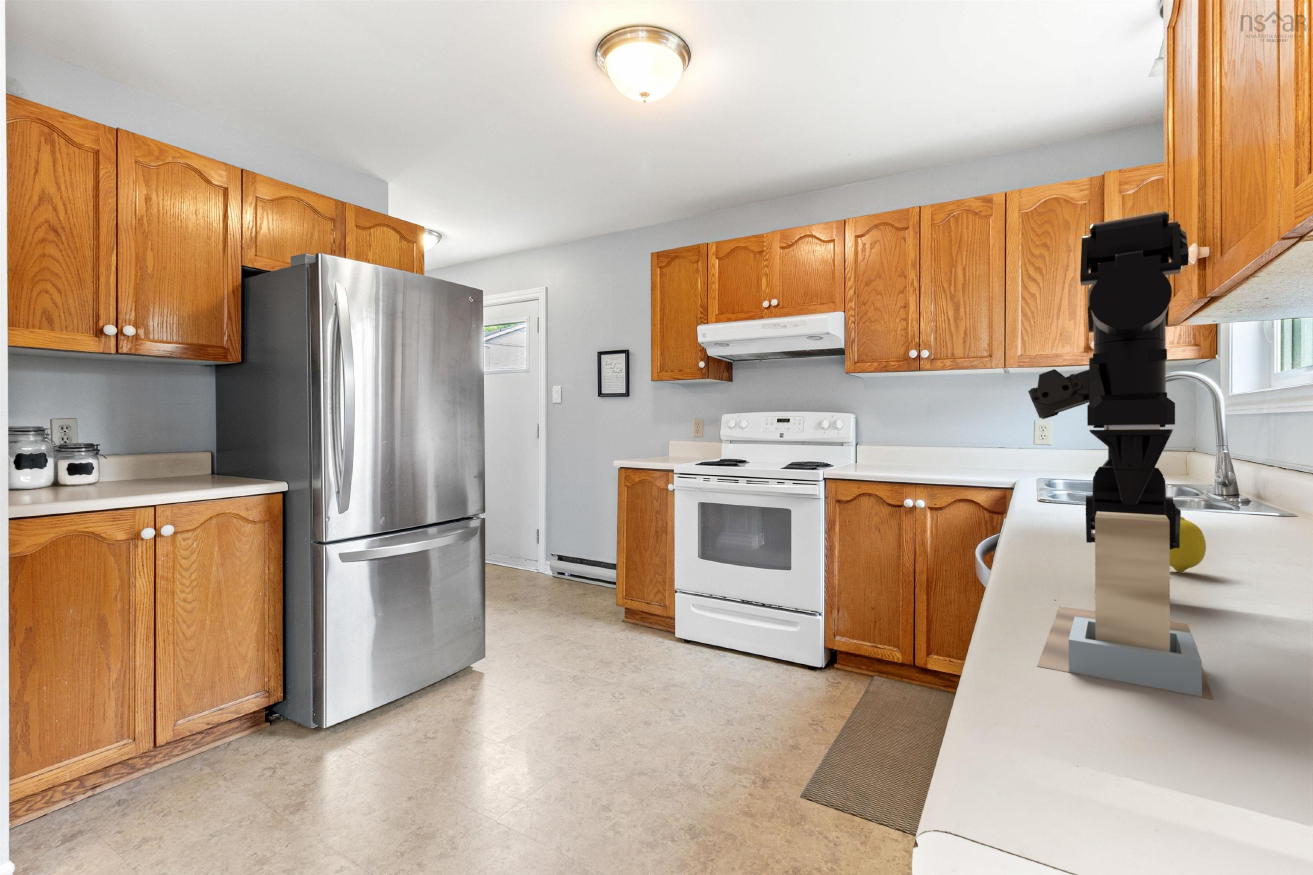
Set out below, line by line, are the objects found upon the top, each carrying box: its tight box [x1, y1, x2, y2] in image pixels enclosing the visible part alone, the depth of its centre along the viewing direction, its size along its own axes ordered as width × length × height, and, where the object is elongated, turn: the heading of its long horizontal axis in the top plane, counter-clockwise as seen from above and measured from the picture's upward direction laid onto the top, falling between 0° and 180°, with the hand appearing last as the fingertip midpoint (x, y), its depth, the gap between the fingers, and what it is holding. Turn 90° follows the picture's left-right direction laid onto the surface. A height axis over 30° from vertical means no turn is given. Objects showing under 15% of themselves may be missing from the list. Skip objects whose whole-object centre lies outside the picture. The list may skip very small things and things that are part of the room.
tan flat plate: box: [1037, 605, 1214, 701], centre depth 55 cm, size 22×10×1 cm, turn 143°
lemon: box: [1170, 516, 1207, 573], centre depth 88 cm, size 6×6×8 cm
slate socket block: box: [1069, 617, 1203, 698], centre depth 49 cm, size 8×8×2 cm
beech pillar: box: [1094, 512, 1171, 652], centre depth 49 cm, size 4×4×12 cm
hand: (1129, 500), depth 62 cm, fingers open, 9 cm apart
